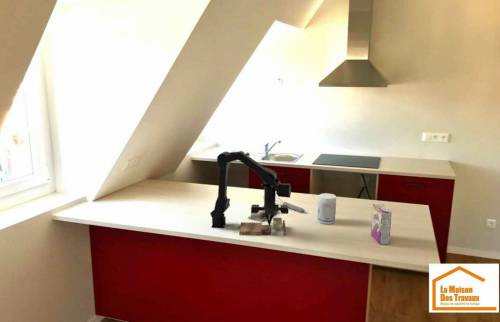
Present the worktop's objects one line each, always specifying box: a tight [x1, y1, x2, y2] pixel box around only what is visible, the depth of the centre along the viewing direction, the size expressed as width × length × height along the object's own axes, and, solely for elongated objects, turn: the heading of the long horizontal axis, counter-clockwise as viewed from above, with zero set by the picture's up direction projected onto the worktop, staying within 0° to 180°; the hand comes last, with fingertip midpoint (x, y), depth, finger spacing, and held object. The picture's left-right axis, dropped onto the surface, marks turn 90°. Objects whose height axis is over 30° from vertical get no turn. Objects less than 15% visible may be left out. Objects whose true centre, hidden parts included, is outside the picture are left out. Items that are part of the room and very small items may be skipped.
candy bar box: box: [370, 203, 393, 246], centre depth 178 cm, size 11×5×16 cm, turn 5°
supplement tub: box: [317, 192, 337, 225], centre depth 202 cm, size 10×10×15 cm
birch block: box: [272, 217, 283, 229], centre depth 190 cm, size 4×4×4 cm
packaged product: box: [247, 205, 280, 223], centre depth 212 cm, size 18×5×10 cm
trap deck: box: [238, 219, 287, 237], centre depth 191 cm, size 23×12×4 cm, turn 87°
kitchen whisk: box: [262, 196, 306, 214], centre depth 226 cm, size 6×34×6 cm, turn 44°
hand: (269, 225), depth 190 cm, fingers closed
